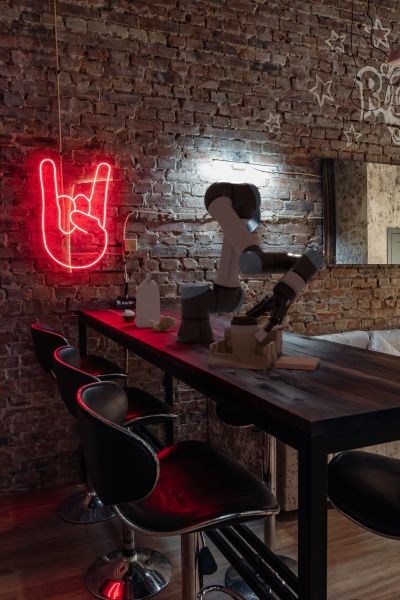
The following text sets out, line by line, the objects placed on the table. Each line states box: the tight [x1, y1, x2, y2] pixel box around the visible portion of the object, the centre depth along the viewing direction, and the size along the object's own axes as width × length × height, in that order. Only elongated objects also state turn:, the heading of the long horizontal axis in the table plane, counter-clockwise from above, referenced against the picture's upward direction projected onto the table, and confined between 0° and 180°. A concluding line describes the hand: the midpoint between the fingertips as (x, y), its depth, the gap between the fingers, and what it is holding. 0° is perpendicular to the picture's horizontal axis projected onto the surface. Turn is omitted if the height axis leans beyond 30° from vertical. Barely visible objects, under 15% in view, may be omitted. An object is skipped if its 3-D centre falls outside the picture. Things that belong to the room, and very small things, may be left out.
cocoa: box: [119, 299, 136, 323], centre depth 282 cm, size 10×6×12 cm, turn 103°
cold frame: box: [208, 326, 278, 371], centre depth 172 cm, size 18×18×10 cm
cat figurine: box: [150, 315, 179, 333], centre depth 247 cm, size 8×7×12 cm
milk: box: [135, 272, 162, 328], centre depth 266 cm, size 12×12×26 cm
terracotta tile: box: [274, 355, 320, 371], centre depth 168 cm, size 12×12×2 cm
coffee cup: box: [229, 315, 259, 355], centre depth 172 cm, size 9×9×15 cm
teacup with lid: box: [257, 319, 284, 354], centre depth 194 cm, size 12×9×12 cm
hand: (247, 336), depth 171 cm, fingers open, 13 cm apart
